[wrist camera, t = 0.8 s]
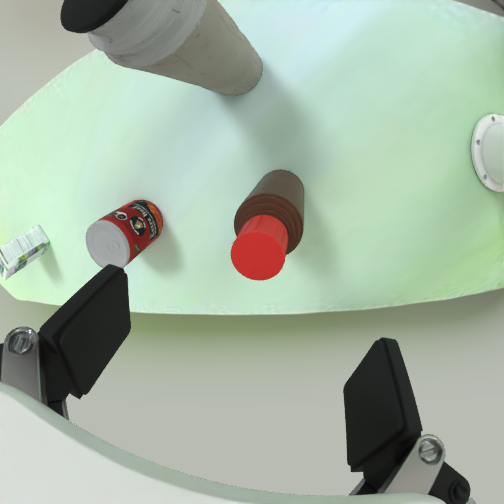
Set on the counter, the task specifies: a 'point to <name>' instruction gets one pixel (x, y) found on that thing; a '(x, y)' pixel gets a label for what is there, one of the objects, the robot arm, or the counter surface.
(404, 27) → the counter surface
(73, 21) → the thermos bottle
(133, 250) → the canned food
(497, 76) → the counter surface
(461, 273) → the counter surface
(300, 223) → the bottle
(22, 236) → the syrup box
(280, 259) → the cap
